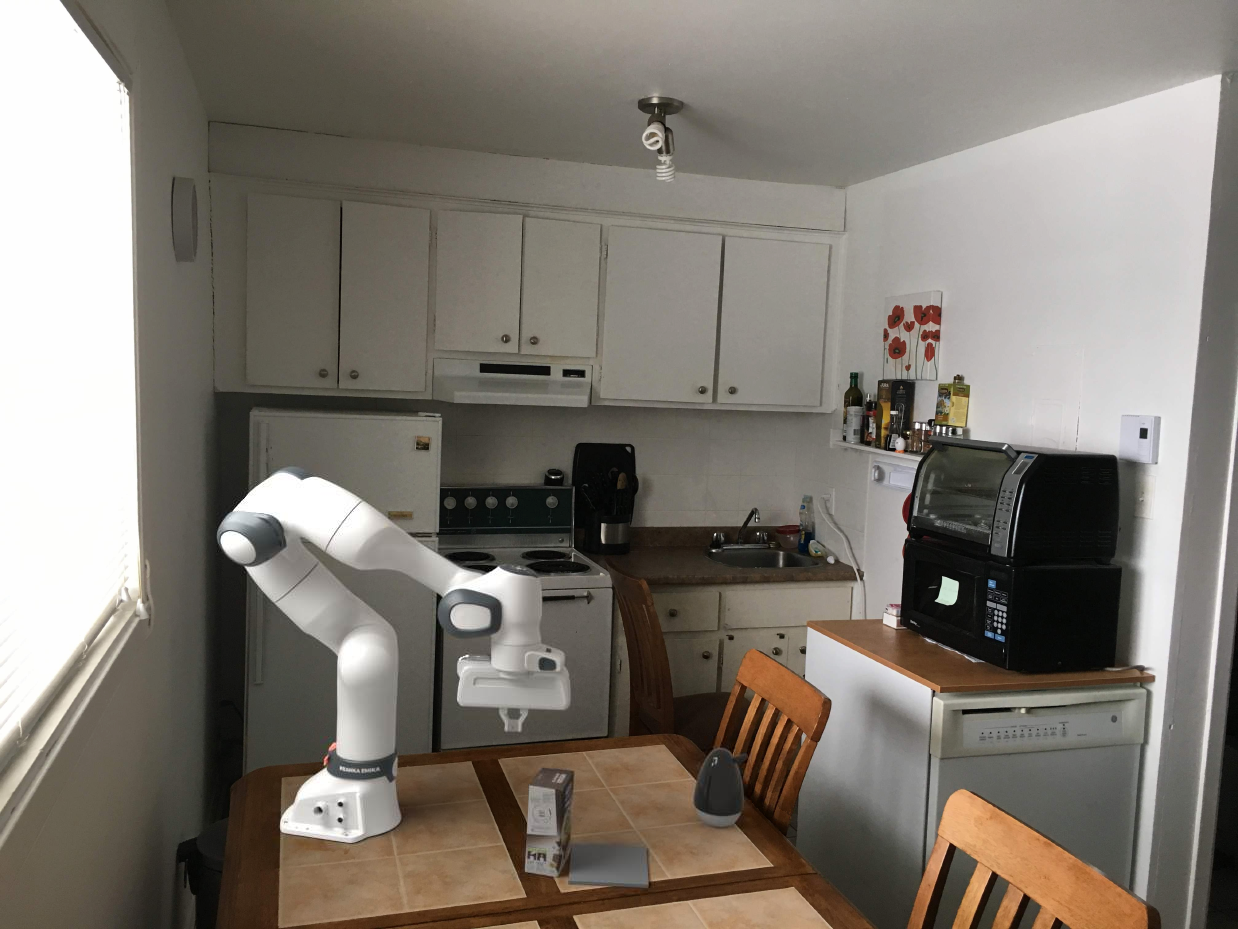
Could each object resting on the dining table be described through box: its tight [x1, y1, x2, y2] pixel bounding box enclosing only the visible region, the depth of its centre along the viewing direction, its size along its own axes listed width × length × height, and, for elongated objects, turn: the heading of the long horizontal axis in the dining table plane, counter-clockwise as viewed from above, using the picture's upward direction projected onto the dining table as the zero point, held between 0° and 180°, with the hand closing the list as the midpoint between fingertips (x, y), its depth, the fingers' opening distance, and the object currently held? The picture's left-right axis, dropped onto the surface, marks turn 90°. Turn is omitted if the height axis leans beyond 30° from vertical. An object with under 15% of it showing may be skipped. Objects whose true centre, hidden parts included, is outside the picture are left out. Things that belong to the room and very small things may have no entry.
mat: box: [567, 842, 650, 889], centre depth 174 cm, size 14×14×1 cm
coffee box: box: [524, 767, 575, 878], centre depth 173 cm, size 9×6×16 cm
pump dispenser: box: [692, 747, 749, 828], centre depth 193 cm, size 10×10×15 cm
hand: (513, 730), depth 172 cm, fingers closed
